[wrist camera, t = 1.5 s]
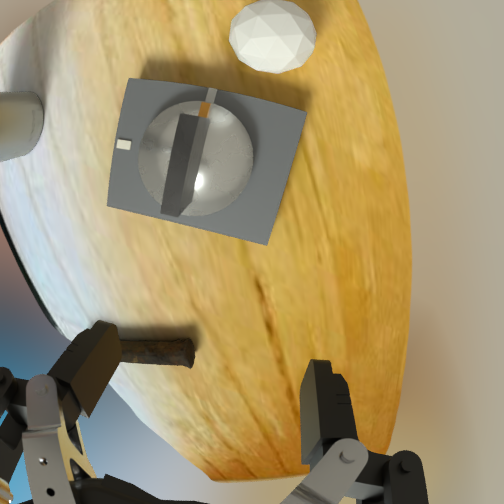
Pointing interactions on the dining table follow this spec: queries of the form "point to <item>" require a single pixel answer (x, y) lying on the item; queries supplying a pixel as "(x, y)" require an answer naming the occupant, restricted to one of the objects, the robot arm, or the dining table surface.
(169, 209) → the dial knob
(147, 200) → the dial panel
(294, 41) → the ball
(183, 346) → the hand tool
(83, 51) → the dining table surface
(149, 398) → the dining table surface
